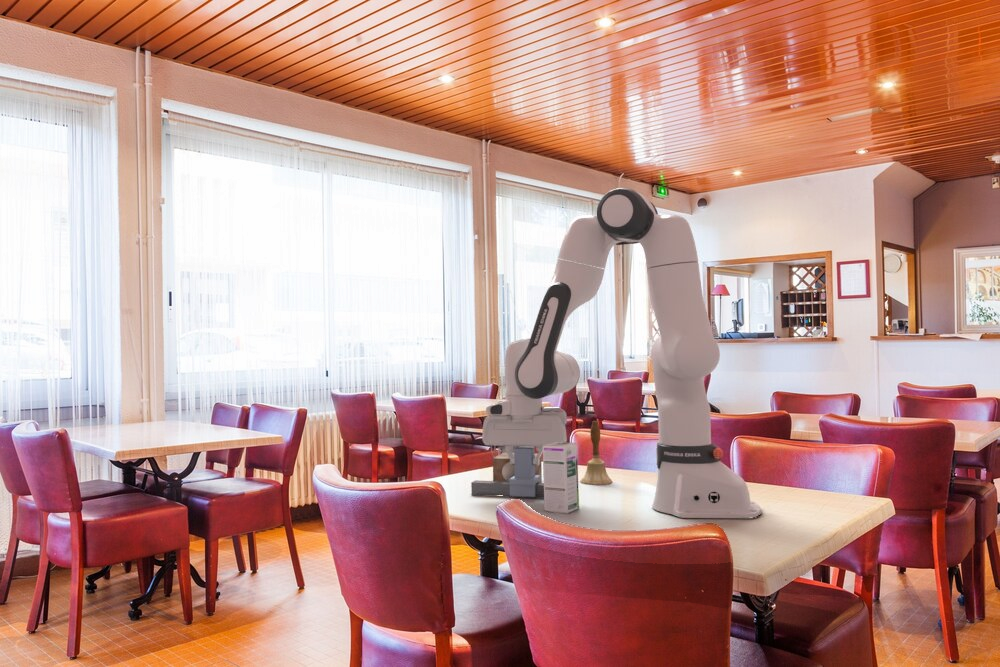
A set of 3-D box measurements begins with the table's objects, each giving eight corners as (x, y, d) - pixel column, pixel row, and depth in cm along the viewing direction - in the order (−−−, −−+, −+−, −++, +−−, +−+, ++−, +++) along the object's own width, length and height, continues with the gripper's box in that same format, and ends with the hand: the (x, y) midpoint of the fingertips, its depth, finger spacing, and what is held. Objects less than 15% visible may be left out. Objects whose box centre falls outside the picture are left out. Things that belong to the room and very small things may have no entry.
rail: (559, 496, 178) (559, 483, 178) (556, 498, 175) (556, 485, 175) (475, 492, 184) (475, 480, 184) (471, 495, 181) (471, 482, 181)
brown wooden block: (541, 484, 193) (541, 453, 193) (531, 492, 183) (531, 459, 183) (504, 483, 196) (504, 452, 196) (492, 490, 186) (492, 458, 186)
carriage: (540, 491, 181) (539, 446, 181) (534, 497, 175) (533, 449, 175) (516, 490, 183) (516, 445, 183) (509, 496, 177) (508, 449, 177)
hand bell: (614, 484, 192) (613, 422, 192) (581, 485, 192) (581, 422, 192) (610, 479, 200) (609, 419, 201) (579, 479, 200) (578, 419, 201)
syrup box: (567, 514, 159) (566, 445, 159) (543, 511, 162) (542, 444, 163) (579, 509, 164) (578, 442, 164) (555, 506, 167) (554, 441, 167)
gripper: (569, 406, 179) (570, 464, 179) (487, 405, 185) (488, 461, 185) (563, 408, 173) (565, 468, 173) (479, 407, 179) (480, 465, 179)
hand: (524, 464), depth 179 cm, fingers closed on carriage, 4 cm apart
